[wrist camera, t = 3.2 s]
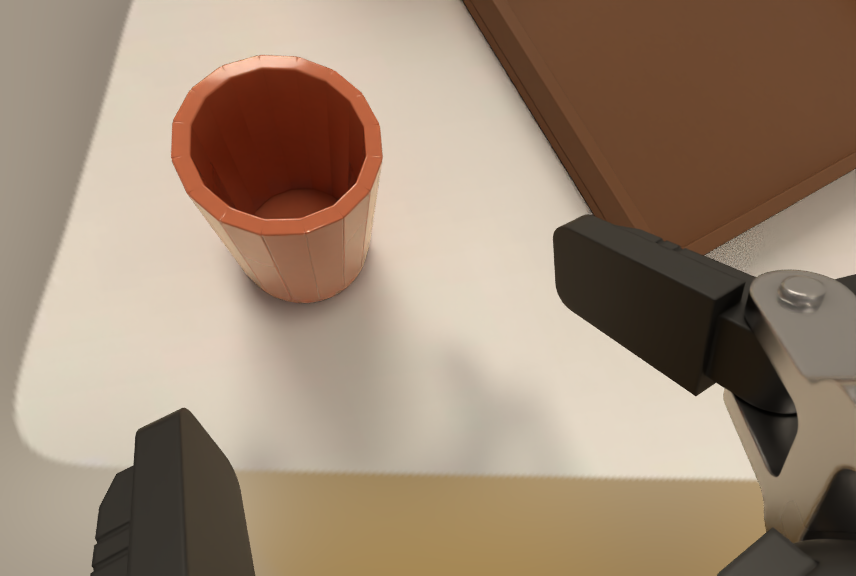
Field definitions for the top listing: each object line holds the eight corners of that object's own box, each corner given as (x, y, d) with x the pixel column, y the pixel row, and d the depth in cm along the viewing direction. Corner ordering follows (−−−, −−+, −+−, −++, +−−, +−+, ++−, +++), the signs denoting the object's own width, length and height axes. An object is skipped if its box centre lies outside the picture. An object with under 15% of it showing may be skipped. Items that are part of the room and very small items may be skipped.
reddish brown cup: (271, 325, 20) (221, 268, 12) (218, 213, 21) (138, 88, 13) (389, 271, 22) (415, 188, 13) (334, 168, 22) (329, 32, 14)
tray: (638, 288, 24) (665, 277, 22) (449, -19, 27) (458, -54, 25) (954, 108, 32) (995, 88, 30) (782, -113, 35) (809, -145, 33)
